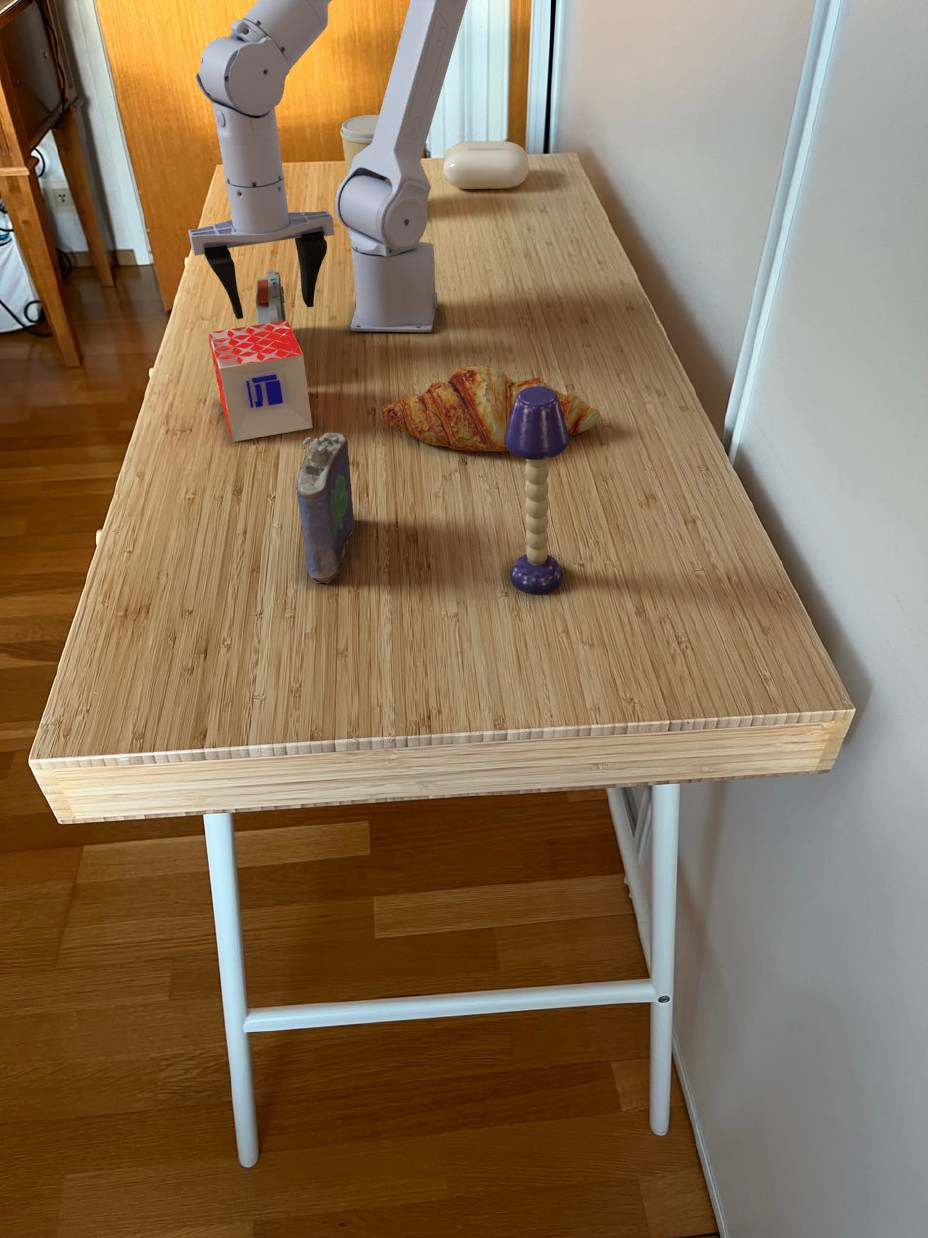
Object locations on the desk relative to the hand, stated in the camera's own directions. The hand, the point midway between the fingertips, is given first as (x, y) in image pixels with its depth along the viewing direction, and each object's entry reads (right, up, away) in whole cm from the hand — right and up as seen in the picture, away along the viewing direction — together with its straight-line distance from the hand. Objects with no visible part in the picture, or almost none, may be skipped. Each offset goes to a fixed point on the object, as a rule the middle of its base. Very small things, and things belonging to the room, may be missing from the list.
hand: (273, 309), depth 107 cm
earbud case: (+24, +34, +46) cm, 62 cm away
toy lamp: (+26, -30, -26) cm, 48 cm away
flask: (+9, -28, -23) cm, 37 cm away
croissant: (+23, -16, -9) cm, 29 cm away
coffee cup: (+8, +25, +37) cm, 46 cm away
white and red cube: (0, -13, -6) cm, 14 cm away
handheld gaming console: (0, -4, +4) cm, 6 cm away
